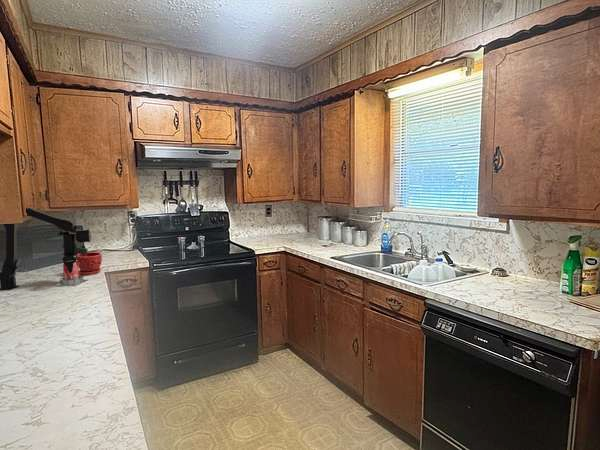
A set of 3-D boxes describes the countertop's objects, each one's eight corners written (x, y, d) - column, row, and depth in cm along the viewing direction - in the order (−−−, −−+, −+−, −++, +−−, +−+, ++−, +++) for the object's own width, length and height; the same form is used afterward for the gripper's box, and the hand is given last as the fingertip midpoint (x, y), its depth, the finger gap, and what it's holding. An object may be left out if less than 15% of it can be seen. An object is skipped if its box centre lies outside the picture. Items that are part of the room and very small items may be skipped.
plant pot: (72, 275, 216) (71, 256, 215) (87, 270, 229) (85, 251, 228) (94, 276, 215) (92, 256, 214) (107, 270, 228) (106, 252, 227)
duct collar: (76, 286, 195) (75, 280, 195) (55, 286, 195) (54, 280, 195) (87, 280, 206) (87, 275, 206) (68, 280, 206) (67, 275, 206)
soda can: (69, 280, 204) (67, 259, 203) (82, 280, 205) (80, 259, 203) (61, 283, 197) (59, 262, 196) (74, 283, 198) (73, 262, 196)
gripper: (86, 244, 194) (88, 272, 196) (86, 239, 210) (88, 265, 212) (61, 245, 189) (63, 275, 190) (63, 240, 205) (65, 268, 206)
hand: (71, 270), depth 200 cm, fingers open, 9 cm apart
